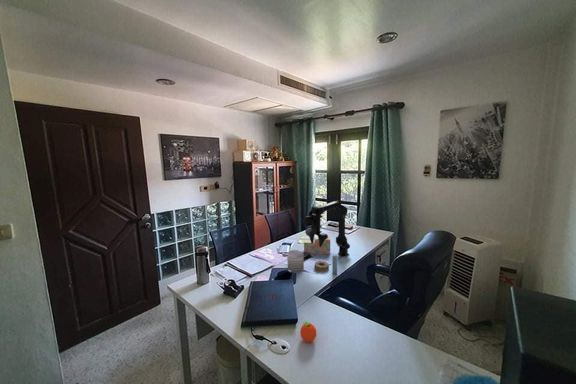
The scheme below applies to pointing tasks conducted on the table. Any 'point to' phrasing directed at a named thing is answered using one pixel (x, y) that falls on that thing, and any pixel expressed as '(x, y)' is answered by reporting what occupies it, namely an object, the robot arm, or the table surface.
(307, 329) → the clementine
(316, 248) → the stack of blocks
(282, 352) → the table surface
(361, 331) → the table surface
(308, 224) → the robot arm
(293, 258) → the can
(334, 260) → the peg
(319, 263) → the brown ring
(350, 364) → the table surface
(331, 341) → the table surface
